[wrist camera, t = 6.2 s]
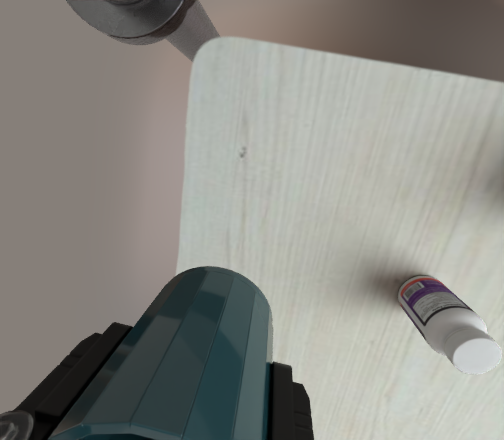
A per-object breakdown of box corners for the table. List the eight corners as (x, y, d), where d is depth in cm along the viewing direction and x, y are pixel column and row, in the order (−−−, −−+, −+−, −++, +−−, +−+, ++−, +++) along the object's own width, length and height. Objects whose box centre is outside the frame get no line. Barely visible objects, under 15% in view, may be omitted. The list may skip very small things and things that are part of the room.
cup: (136, 298, 13) (-12, 466, 6) (228, 244, 12) (160, 388, 5) (203, 377, 14) (137, 586, 8) (294, 336, 13) (310, 552, 6)
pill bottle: (442, 310, 32) (508, 380, 23) (396, 313, 33) (442, 382, 24) (444, 271, 31) (515, 329, 21) (396, 276, 31) (444, 333, 22)
